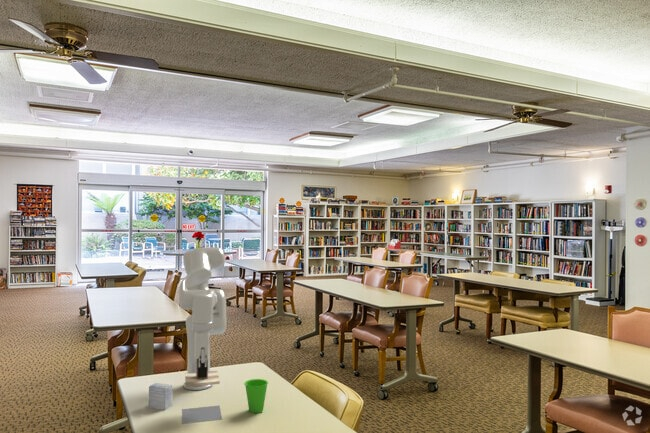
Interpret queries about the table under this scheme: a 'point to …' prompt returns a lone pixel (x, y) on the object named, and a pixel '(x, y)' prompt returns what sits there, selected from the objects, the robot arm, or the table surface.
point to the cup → (256, 394)
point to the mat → (201, 414)
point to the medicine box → (160, 396)
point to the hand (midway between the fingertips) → (202, 374)
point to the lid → (193, 379)
